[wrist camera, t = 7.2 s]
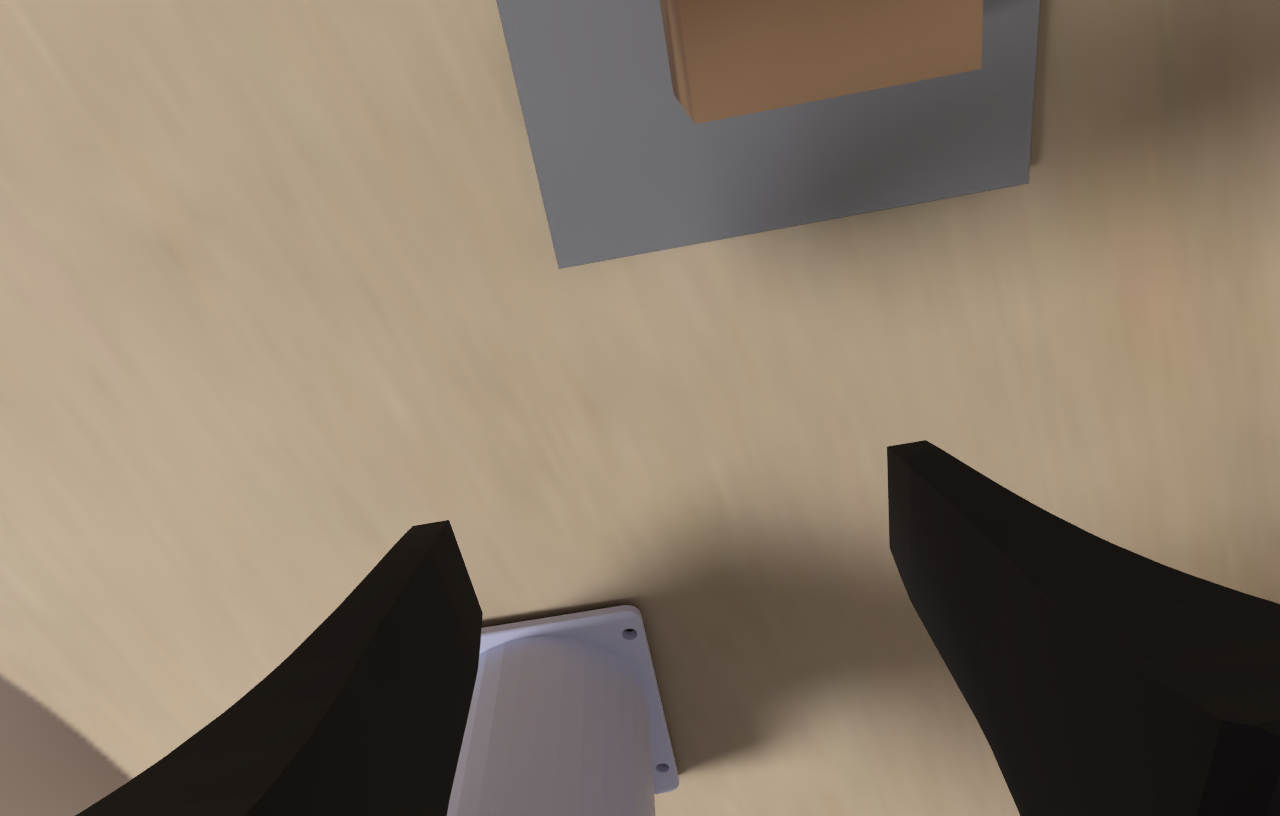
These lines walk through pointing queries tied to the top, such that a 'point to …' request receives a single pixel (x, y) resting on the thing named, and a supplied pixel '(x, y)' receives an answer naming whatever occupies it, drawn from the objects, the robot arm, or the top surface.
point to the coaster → (746, 134)
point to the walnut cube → (810, 49)
